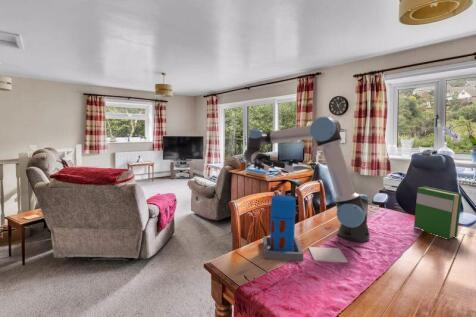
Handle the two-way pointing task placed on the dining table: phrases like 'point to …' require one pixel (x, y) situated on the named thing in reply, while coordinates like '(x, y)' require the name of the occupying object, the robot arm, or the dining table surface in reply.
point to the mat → (327, 254)
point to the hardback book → (438, 211)
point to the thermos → (282, 223)
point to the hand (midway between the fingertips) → (280, 169)
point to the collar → (281, 254)
